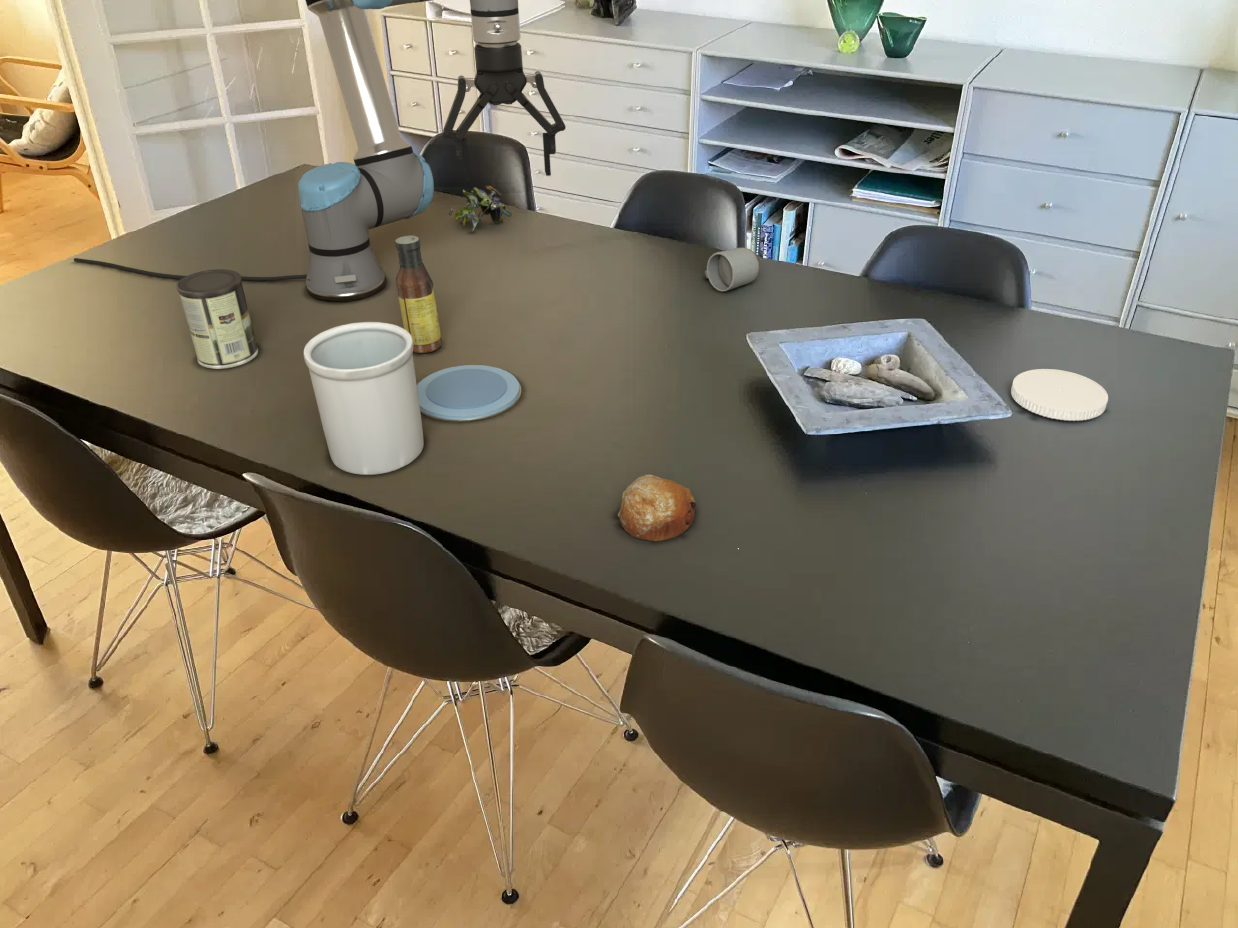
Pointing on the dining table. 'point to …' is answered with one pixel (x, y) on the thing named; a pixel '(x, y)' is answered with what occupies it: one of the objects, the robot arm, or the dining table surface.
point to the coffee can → (218, 318)
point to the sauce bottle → (417, 297)
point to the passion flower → (486, 204)
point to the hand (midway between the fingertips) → (508, 176)
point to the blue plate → (467, 393)
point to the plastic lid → (1059, 394)
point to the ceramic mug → (732, 268)
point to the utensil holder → (367, 396)
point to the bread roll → (656, 508)
